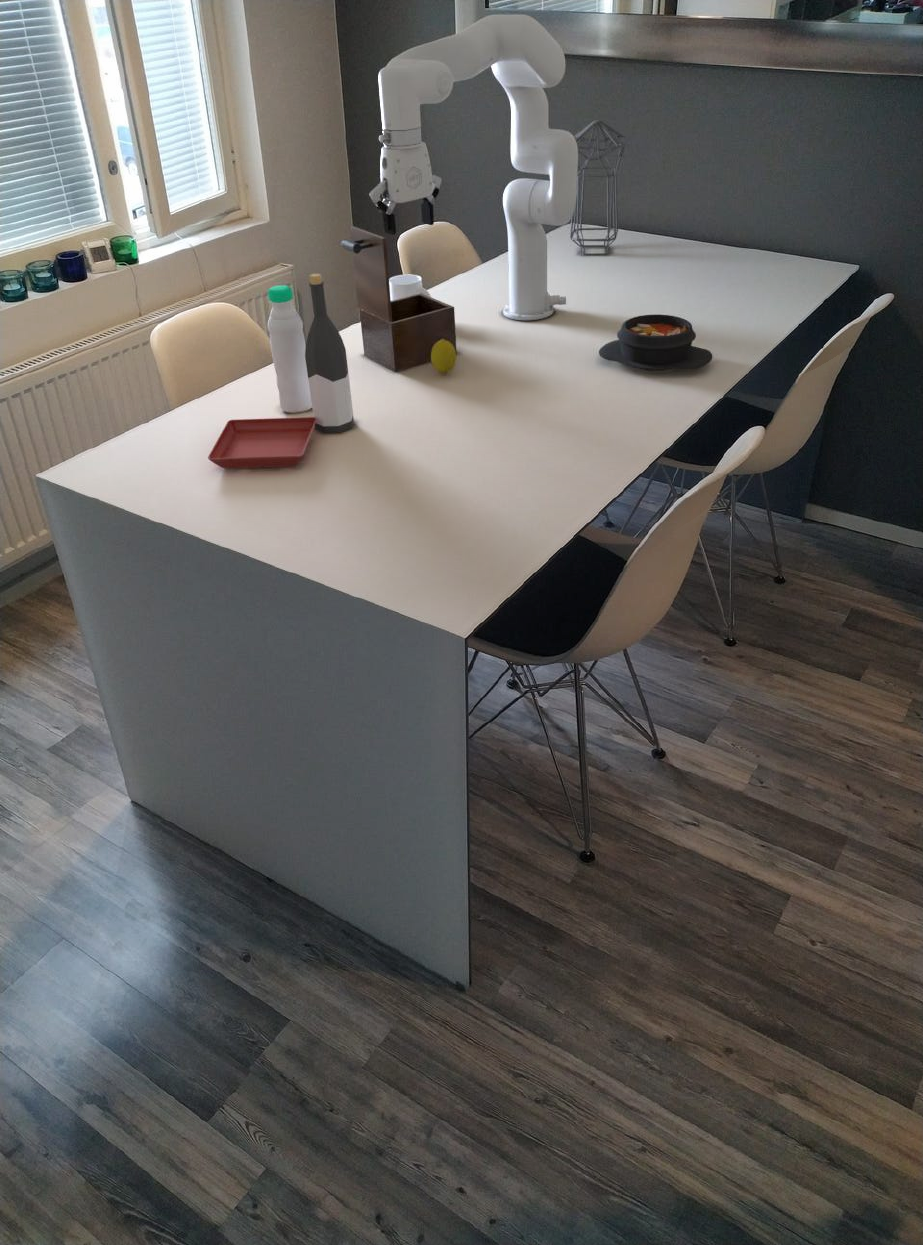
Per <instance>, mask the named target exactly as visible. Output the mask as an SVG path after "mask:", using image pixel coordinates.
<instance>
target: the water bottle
mask: <svg viewBox="0 0 923 1245" xmlns="http://www.w3.org/2000/svg"><path fill="white" fill-rule="evenodd" d="M267 295H268V300H269V303H270V304H271V305H272V308H271V310H270V313H269V318H268V320H267V330H268V333H269V342H270V350H271V356H272V362H273V366H274V367H273V368H274V371H275V375H276V387H277V390H278V397H279V398H278V400H279V406H280V408H281V410H283V411H284V412H285V413H291V414H297V413H305V412H307V411H309V410H310V409H311V408H312V402H311V395H310V388H309V381H308V374H307V367H306V360H305V349H306V339H305V334H304V330H303V328H304V323H303V320H302V318H301V316H300V314H299V313H298V312H297V310H296V308H295V307H294V306H293V301H294V299H293V298H294V294H293V289H292V287H291V286H289V285H285V284H284V285H283V284H282V285H280V284H279V285H274V286H272V287H270V288H269V289H268V290H267Z"/></svg>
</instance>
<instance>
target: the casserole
mask: <svg viewBox="0 0 923 1245" xmlns="http://www.w3.org/2000/svg"><path fill="white" fill-rule="evenodd" d="M616 337H617V339H615V340H611V341H609V342H607V343H605V344H604V345H603V346H601V347H600V348H599V350H598V355H599V357H601V358H602V359H604V360H607V361H612V362H616V363H619V364H621V365H623V366H626V367H629V368H632V369H636V370H643V371H650V372H664V371H670V370H696V369H700V368H702V367H705V366H707V365H708V364H709V363H710V362H712V360H713V353H712V352H711V351H710V350H708V349H706V348H702V347H698V346H694V345H692V344H693V341H694V340H696V337H697V334H696V331H694V328H693V325H692V323H691V322H690V321H689V320H687V319H685V318H683V317H679V316H675V315H670V314H644V315H637V316H633V317H631V318H627V320H625V321H623V323H622V324H621V327H620V329H619V330H618V331H617V333H616Z"/></svg>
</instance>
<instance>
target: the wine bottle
mask: <svg viewBox="0 0 923 1245" xmlns="http://www.w3.org/2000/svg"><path fill="white" fill-rule="evenodd" d="M309 279H310V282H309V288H310V295H311V302H312V309H313V319H312V322H311V326H310V328H309V330H308V334H307V337H306V341H305V344H306V349H305V360H306V367H307V374H308V381H309V388H310V395H311V402H312V407H311V408H312V417H316V418H317V421H316V424H315V426H314V429H315V430H317V431H319V432H320V433H322V434H341V433H344V432H347V431H348V430H350V429H351V430H352V428H353V425H354V408H353V401H352V391H351V385H350V384H351V383H350V376H349V366H348V359H347V358H348V356H347V351H346V350H347V349H346V346H345V343H344V340H343V338H342V336H341V334H340V332H339V330H338V328H337V327H336V326H335V324H334V323H333V321H332V320H331V318H330V317H329V316H328V311H327V304H326V295H325V288H324V285H325V284H324V281H323V280H322V274H321V273H312V274H310V275H309Z"/></svg>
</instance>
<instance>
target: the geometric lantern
mask: <svg viewBox="0 0 923 1245" xmlns="http://www.w3.org/2000/svg"><path fill="white" fill-rule="evenodd" d="M599 130H600V132H601V134H602V138H603V139H601V140H600V139H599V138H600V137H599ZM590 131H591V134H590V137H589V138H588V137H586V136H587V134H589V132H590ZM606 135H607V136H608V137H607V136H606ZM573 136H574V138H575V140H576V143H577V148H578V155H580V156H581V157H583V158H584V159H585V162H584V163H583V165H582V166H581V167H580V166H578V169H577V187H576V202H575V209H574V213H573V216H572V218H571V220H570V235H569V240H570V241H572V242H573V243H575V244H576V245H577V246H578V247H579V255H582V256H607V255H609V254H610V246H611V245H612V244H613V243H614V241H616V239H617V237H618V234H619V233H618V232H619V212H618V174H617V173H618V168H619V166H620V163H621V159H622V157H623V156H624V155H623V154H624V152H625V148H626V145H625V139H626V136H624V135H623V134H621V133H620V132H619V131H617V130H615V128H613V127H611V126H610V125H609V124H606V123H605V122H604V121H603V120H600V119H596V120H595V119H594V121H592V122H590V123H589V124H588V125H587V126H585V127H584V128H583V129H582V130H580V131H579V132H578V133H576V134H575V135H573ZM593 137H594V138H593ZM620 138H621V139H620ZM609 140H611V141H610V143H609V144H608V141H609ZM585 141H588V143H587V142H585ZM592 142H595V146H592V145H591V144H592ZM579 143H582V144H583V145H585V146H580V145H578V144H579ZM600 143H605V144H604V147H600ZM613 144H614V145H613ZM618 148H619V151H618V154H617V155H616V158H615V161H614V164H613V165H612V164H611V163H610V161H609V158H608V157H607V155H609V154H610V153H612V152H614V151H615V150H616V149H617V150H618ZM580 149H583V150H586V152H587V156H586V155H585V154H584V153H582V152H581V151H580ZM590 150H592V152H591V154H590ZM606 150H608V151H606ZM596 151H597V157H593V156H594V153H595V152H596ZM600 152H602V153H603V154H601V155H600ZM603 157H605V160H606V161H607V163H608V165H609V166H606V165H605V163H604V161H603V159H602V158H603ZM597 160H599V161H600V163H601V166H602V167H601V166H599V167H597V166H596V167H588V165H589V163H590V162H591V161H592V162H593V161H597ZM616 163H617V164H616ZM608 169H610V170H611V173H609V171H608ZM586 170H604V171H605V173H606V175H600V174H599V175H588V174H587V175H586ZM581 172H582V175H580V173H581ZM580 178H582V183H581V184H582V185H581V186H582V187H581V202H580V180H581V179H580ZM585 178H606V226H607V227H582V226H583V214H584V195H585V181H586V179H585ZM610 178H611V180H610ZM610 182H611V183H610ZM612 226H613V227H612ZM579 231H580V236H581V237H580V236H579ZM583 231H607V233H606V237H605V238H584V234H583ZM612 231H613V234H612V235H611V236H610V233H611V232H612ZM574 234H575V235H576V238H574ZM585 242H603V244H585ZM587 248H588V249H589V248H593V249H594V248H600V249H601V248H603V249H604V253H585V249H587Z"/></svg>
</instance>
